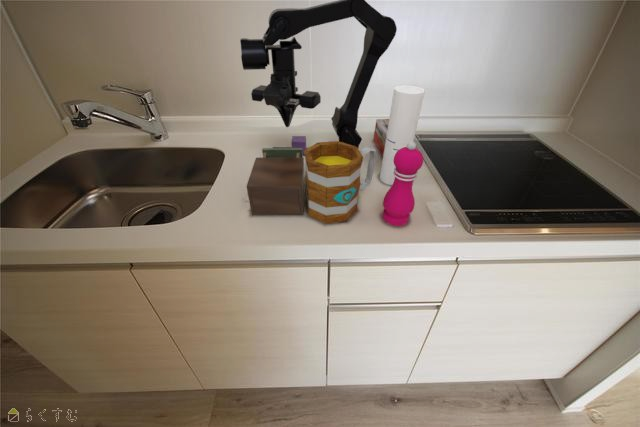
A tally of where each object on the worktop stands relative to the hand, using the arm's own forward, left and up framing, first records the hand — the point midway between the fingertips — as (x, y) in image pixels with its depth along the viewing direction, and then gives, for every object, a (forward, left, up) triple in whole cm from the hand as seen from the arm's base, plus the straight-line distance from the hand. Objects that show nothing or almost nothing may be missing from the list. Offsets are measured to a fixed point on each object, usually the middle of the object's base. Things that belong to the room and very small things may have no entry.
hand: (287, 126), depth 84 cm
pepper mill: (-28, +28, -12) cm, 41 cm away
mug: (-15, +22, -12) cm, 29 cm away
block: (-3, -7, -12) cm, 14 cm away
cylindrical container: (-31, +10, -12) cm, 34 cm away
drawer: (+1, +10, -11) cm, 14 cm away
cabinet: (+1, +20, -12) cm, 23 cm away
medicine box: (-34, -9, -7) cm, 36 cm away
